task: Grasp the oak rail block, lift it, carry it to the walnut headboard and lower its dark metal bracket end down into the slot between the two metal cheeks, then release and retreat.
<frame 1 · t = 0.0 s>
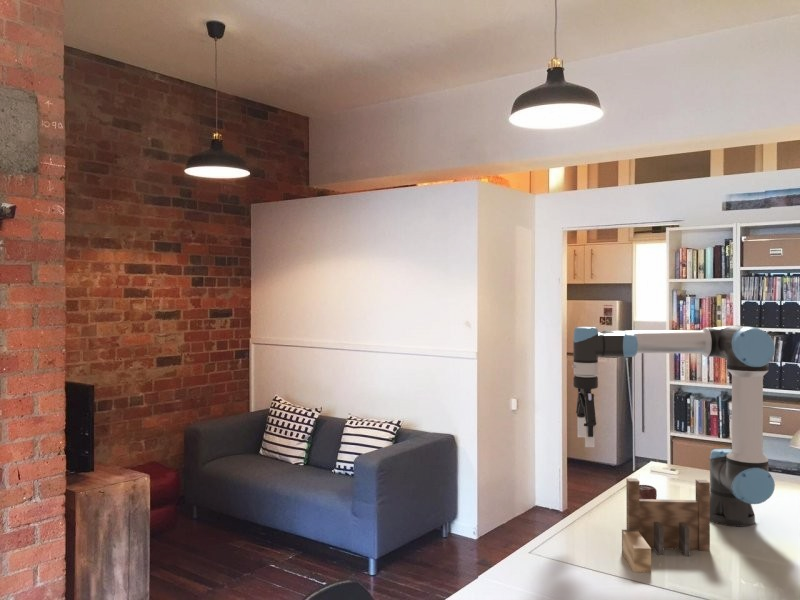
hand: (585, 442, 212), 28 cm above the table, fingers open, 13 cm apart
can: (645, 531, 211), on the table
headboard: (667, 547, 197), on the table
rail: (636, 562, 187), on the table
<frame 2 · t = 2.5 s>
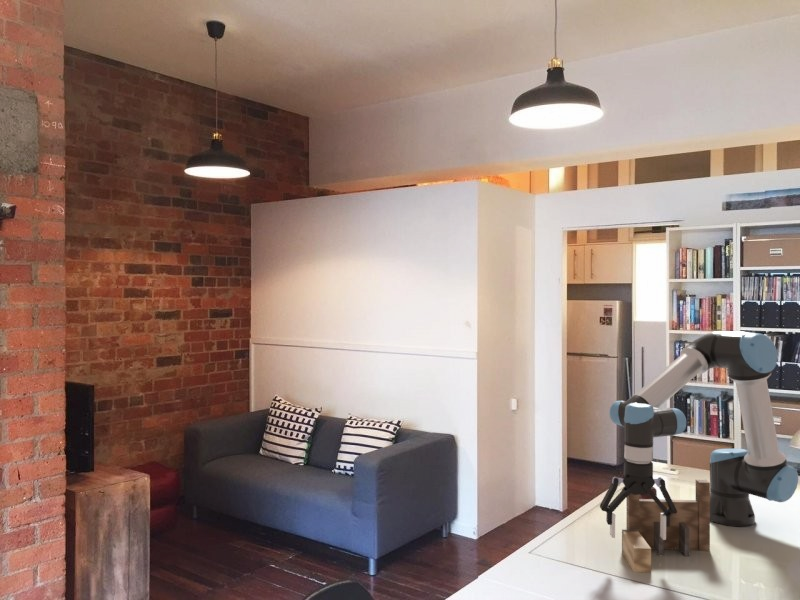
hand: (637, 537, 184), 8 cm above the table, fingers open, 13 cm apart
nothing on the table moved.
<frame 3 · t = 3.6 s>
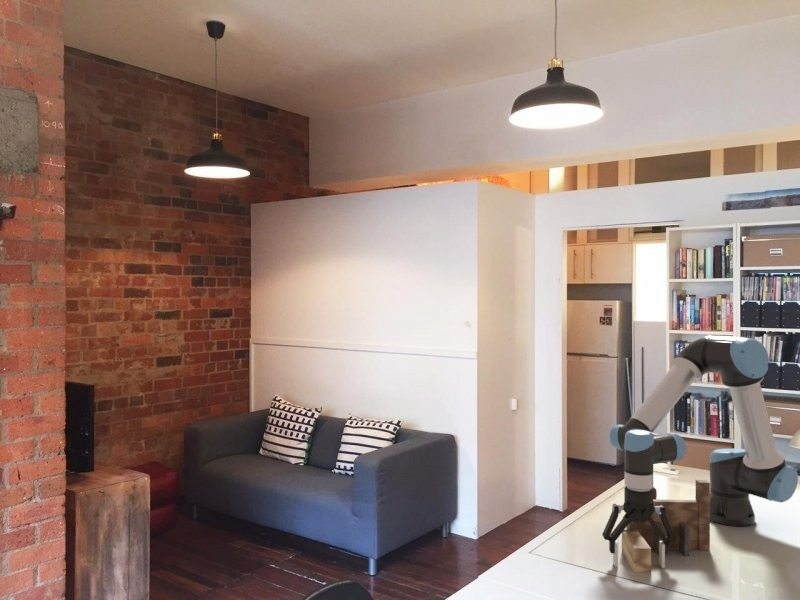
hand: (638, 565, 184), 0 cm above the table, fingers open, 12 cm apart
nothing on the table moved.
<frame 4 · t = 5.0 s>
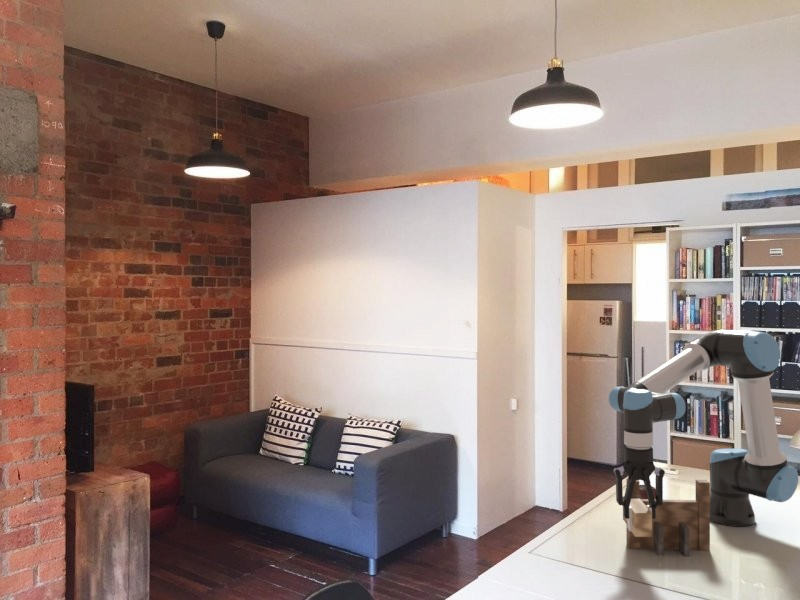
hand: (639, 529, 184), 10 cm above the table, fingers closed on rail, 4 cm apart
rail: (637, 528, 187), point 10 cm above the table, touching gripper
everything else where it was.
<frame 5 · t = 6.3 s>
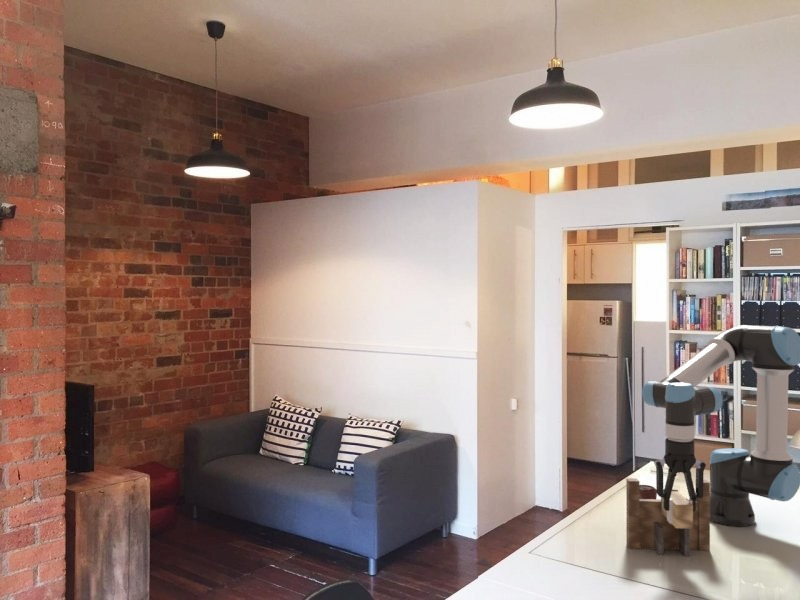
hand: (679, 521, 186), 12 cm above the table, fingers closed on rail, 4 cm apart
rail: (676, 520, 188), point 11 cm above the table, touching gripper
everything else where it was.
when the fingers open (0 cm above the table, at t = 8.1 s): rail stays where it is, on the table.
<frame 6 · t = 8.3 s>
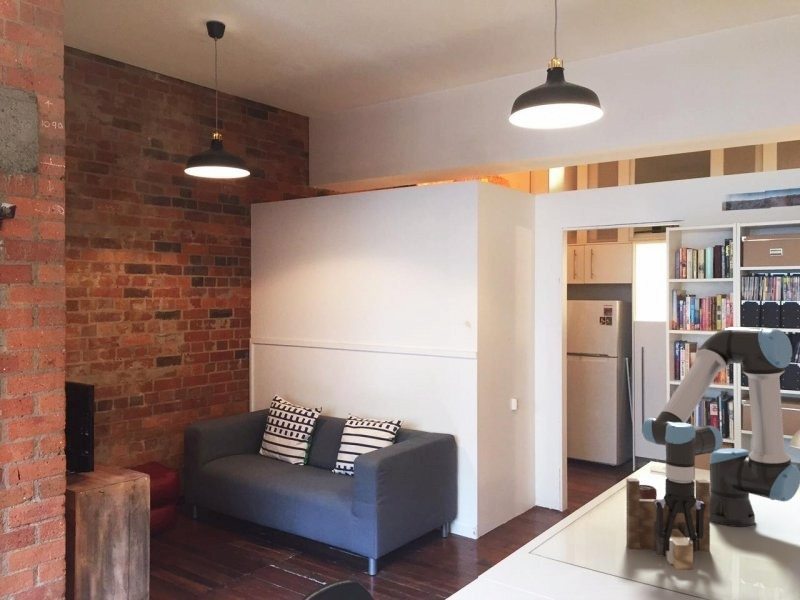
hand: (679, 562, 186), 0 cm above the table, fingers open, 5 cm apart
rail: (676, 559, 189), on the table, touching gripper
everything else where it was.
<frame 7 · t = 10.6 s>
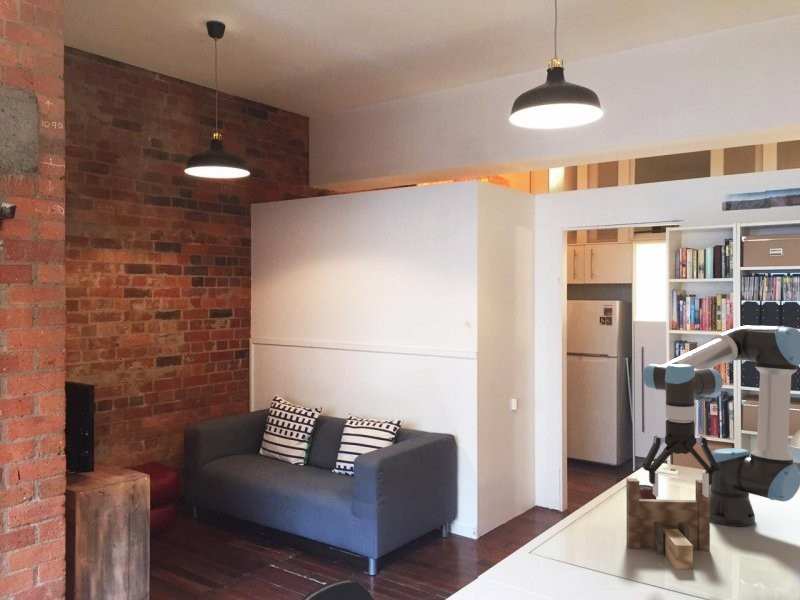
hand: (680, 495, 187), 19 cm above the table, fingers open, 13 cm apart
rail: (676, 559, 189), on the table
everything else where it was.
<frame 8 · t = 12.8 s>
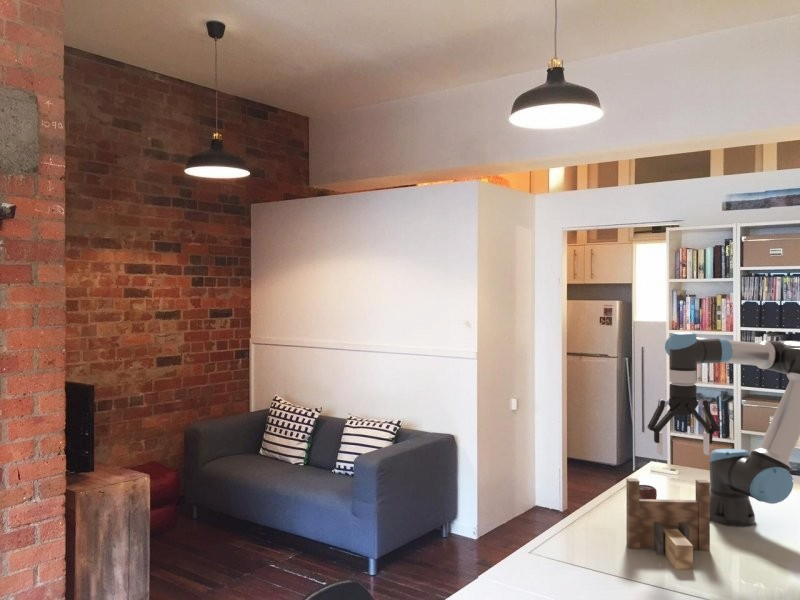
hand: (682, 454, 201), 27 cm above the table, fingers open, 13 cm apart
nothing on the table moved.
at the end: rail 0.2 cm from the target spot on the table beside the headboard, on the table; rail tilted 0°; the gripper is holding nothing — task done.
